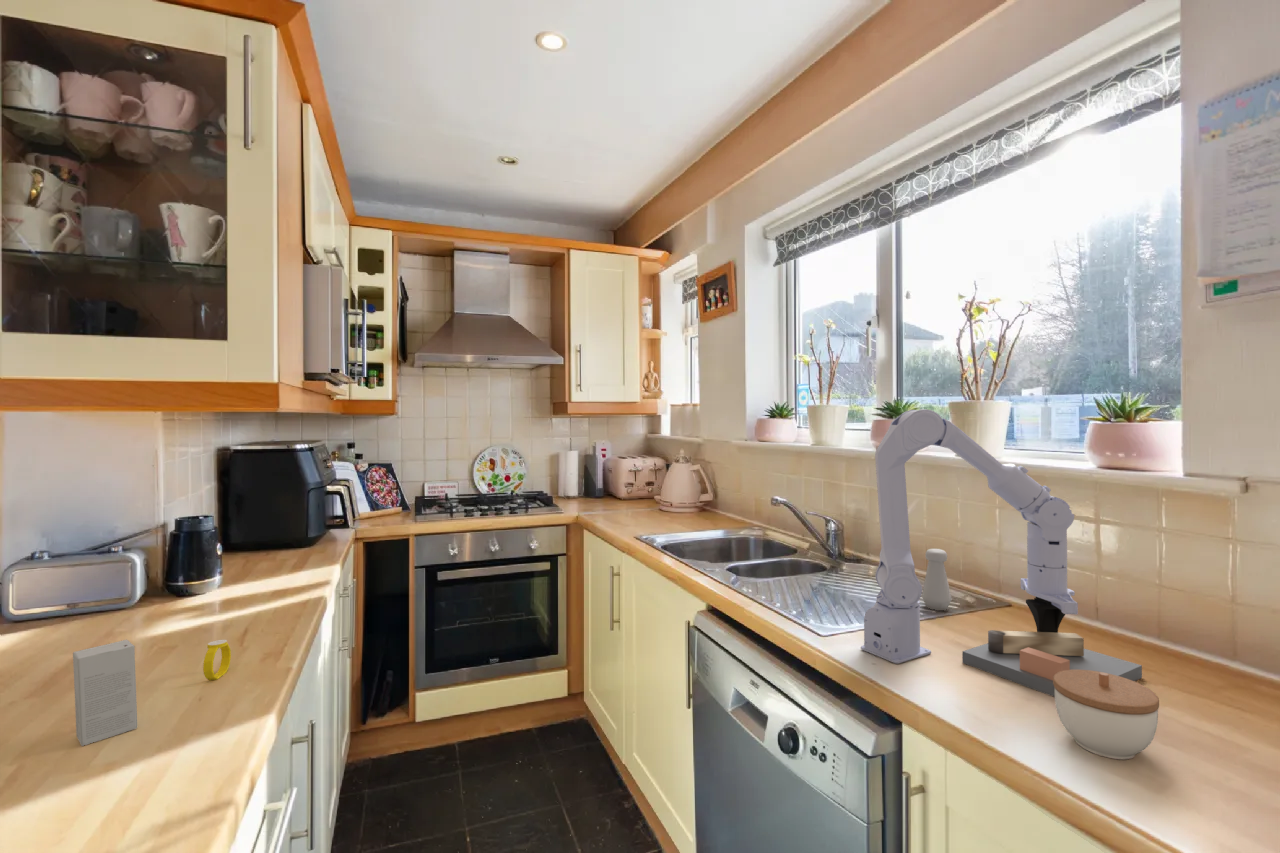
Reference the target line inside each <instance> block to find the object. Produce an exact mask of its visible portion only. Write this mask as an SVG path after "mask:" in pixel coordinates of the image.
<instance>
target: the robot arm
mask: <svg viewBox="0 0 1280 853" xmlns="http://www.w3.org/2000/svg"><path fill="white" fill-rule="evenodd" d="M930 446H935V447H936V446H937V447H941V448H945V449H948V450H950V451H951V452H953V453H955V454H956V455H957V456H959V458H961V459H962V460H964V461H965V462H967V463H968V464H969V465H971V466H972V467H974V468H975V469H976V470H978V472H980V473H981V474H983V475H984V476H986V478H987V480H986V481H987V485H988V488H989V489H990V490H991V491H992V492H994V493H995V494H996V495H998V496H999V497H1000V498H1001V499H1002V500H1003V501H1005V502H1006V503H1008V504H1009V505H1010V506H1011V507H1012V508H1013V509H1015V510H1016V511H1017V512H1019V513H1020V515H1021V516H1022V519H1023V520H1025V521H1028V522H1027V524H1026V525H1027V530H1026V531H1027V532H1026V534H1027V535H1026V536H1027V537H1026V550H1027V551H1026V552H1027V554H1026V556H1027V557H1026V559H1027V560H1026V562H1027V564H1026V569H1027V570H1026V571H1027V573H1026V574H1027V575H1026V578H1024V577H1023V578H1022V577H1021V578H1020V590H1023V591H1025V592H1026V593H1027V594H1029V595H1030V596H1034V597H1033V598H1027V599H1025V603H1026V605H1027V607H1028V609H1029V610H1030V612H1031V614H1032V617H1033V620H1034V622H1035V627H1036V632H1056V633H1059V628H1060V625H1061V622H1062V620H1063V619H1064V617H1065V616H1066V615H1078V614H1079V609H1078V607H1079V604H1078V603H1079V602H1077V601H1076V600H1074V598H1073V596H1075V593H1076V592H1075V591H1074V590H1072V589H1071V588H1068V533H1067V532H1068V531H1067V530H1068V529H1069V528H1070V527H1071V526H1072V524H1073V523H1074V519H1075V516H1076V515H1075V514H1074V513H1073V511H1072V509H1070V508H1071V506H1070V505H1069V503H1068V502H1067V501H1065V500H1064V499H1062V498H1060V497H1056V496H1053V495H1051V491H1052V490H1051V488H1050V487H1049V486H1047V485H1043V486H1042V485H1041V484H1040V483H1039V482H1037V481H1036V480H1035V479H1034V478H1032V476H1029V475H1028V474H1027V473H1028V472H1029V470H1028V468H1025V467H1024V466H1022V465H1018V466H1017V465H1016V464H1014V463H1001V462H1000V461H999V460H997V459H996V458H995V457H994V456H992V454H990V453H989V452H988V451H987V450H986V449H985V448H983V447H982V446H981V445H980V444H978V443H977V441H975V440H974V439H973V438H971V437H970V436H969V435H968V434H966V433H965V432H964V431H963V430H962V429H961V428H959V427H958V426H957V425H956V424H954V423H953V422H952V421H950V420H948V419H946V418H942V416H941V415H940V414H938V413H937V412H936V411H934V410H932V409H925V408H924V409H923V408H922V409H909V410H906V411H904V412H902V413H901V414H899V415H898V416H897V417H896V418H895V419H893V420H892V421H891V422H890V424H889V427H888V430H887V431H886V433H885V434H884V436H883V438H882V439H881V441H880V443H879V445H878V446H877V448H876V449H875V453H874V458H875V459H874V460H875V472H876V473H875V474H876V487H877V501H878V517H879V530H880V531H879V532H880V533H879V534H880V545H881V548H880V552H879V563H878V565H877V569H876V571H875V581H876V584H877V585H878V586H879V587H880V588H881V589H880V590H879V592H878V594H877V595H876V601H875V604H874V605H873V606H871V607H869V608H868V609H867V610H866V611H865V613H864V617H863V640H864V641H863V644H864V645H861V646H860V649H861V650H862V651H864V652H867V653H870V654H871V655H874V656H876V657H879V658H882V659H883V660H886V661H888V662H891V663H893V664H901V663H905V662H908V661H910V660H914V659H917V658H922V657H923V656H927V655H930V654H932V650H931V649H929V648H925V647H923V646H921V614H920V613H921V612H920V611H921V607H920V604H921V602H920V599H921V598H922V593H923V588H922V587H923V586H922V584H921V583H922V582H921V581H920V580H919V578H918V576H917V575H916V570H915V569H916V568H915V562H914V559H913V555H912V550H911V539H910V538H911V537H910V524H909V522H910V521H909V511H908V509H909V508H908V495H907V493H908V492H907V482H906V479H907V478H906V467H905V466H906V463H907V462H908V461H909V460H911V458H912V457H914V456H915V455H916V454H917V453H918V452H919V451H921V450H923V449H925V448H928V447H930Z"/></svg>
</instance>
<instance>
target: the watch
mask: <svg viewBox="0 0 1280 853" xmlns="http://www.w3.org/2000/svg"><path fill="white" fill-rule="evenodd" d="M218 649H219V650H220V651H221V660H220V666H219V668H218V671H216V672H214V662H215V661H214V660H215V658H216V657H215V656H216V654H217V651H218ZM204 655H205V656H204V659H203V665H202V668H203V669H202V671H203V674H204V677H205V679H207V680H208V681H217V680H218V679H220V678H221V677H222V676H224V675H225V674H227V673H228V670H229V667H230V664H231V659H232V652H231V647H230V644H229V643H228V640H227V639H218V640H214V641H210V642H208V643H207V651H206V653H205V654H204Z"/></svg>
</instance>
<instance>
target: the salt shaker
mask: <svg viewBox="0 0 1280 853" xmlns="http://www.w3.org/2000/svg"><path fill="white" fill-rule="evenodd" d="M924 554H925V559H926V560H927V561H928V562H927V566H926V573H925V578H924V583H923V588H922V595H921V598H922V600H923V602H924V605H925V607H926V608H927V607H928V609H929V608H930V609H935V610H934V611H936V610H944V611H947V610H948V608H949V606H950V604H951V602H952V594H951V591H950V585H949V580H948V576H947V571H946V567H945V566H946V565H945V562H947V560H948V553H947V552H946V551H945V550H944V549H941V548H929V549H927V550H926V551H925V553H924ZM930 609H929V610H930ZM946 609H947V610H946Z"/></svg>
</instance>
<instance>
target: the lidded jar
mask: <svg viewBox="0 0 1280 853" xmlns="http://www.w3.org/2000/svg"><path fill="white" fill-rule="evenodd" d="M1053 685H1054V696H1055V697H1054V703H1055V709H1056V712H1057V716H1058V718H1059V720H1060V722H1061V724H1062V726H1063V727H1064V729H1065V730H1066V732H1067V733H1068V734H1069V735H1071V737H1072V738H1073V739H1074V742H1076V744H1077V745H1078V746H1079V747H1081V748H1082V749H1084V750H1085V751H1087V752H1089V753H1092V754H1094V755H1097V756H1100V757H1104V758H1107V759H1113V760H1122V761H1123V760H1130V759H1134V758H1135V755H1137V754H1138V753H1141V752H1143V751H1144V750H1146V749H1147V748H1148V747H1149V746H1150V745H1151V744H1152V743H1153V740H1154V738H1155V735H1156V732H1157V727H1158V722H1159V719H1158V718H1159V708H1160V698H1159V696H1158V695H1157V694H1156V693H1155V692H1154V690H1152V689H1151V688H1149V687H1147V686H1145V685H1143V684H1141V683H1139V682H1137V681H1132V680H1129V679H1126V678H1123V677H1120V676H1116V675H1112V674H1108V673H1104V672H1098V671H1091V670H1064V671H1060V672H1058V673H1056V674H1055V675H1054V676H1053Z"/></svg>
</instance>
